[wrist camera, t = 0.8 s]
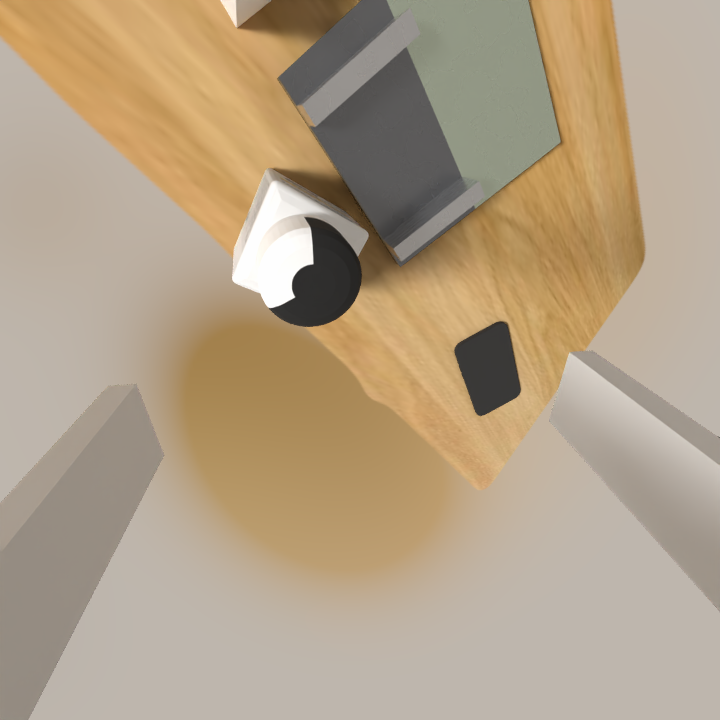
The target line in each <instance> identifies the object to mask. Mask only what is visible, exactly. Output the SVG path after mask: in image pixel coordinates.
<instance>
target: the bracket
mask: <svg viewBox="0 0 720 720" xmlns="http://www.w3.org/2000/svg"><path fill="white" fill-rule="evenodd" d="M270 1H271V0H221V2H222V4H223V5H224V7H225V9H226V11H227V12H228V14H229V16H230V17H231V19H232V21H233V23H234V24H235V26H236V28H238V27H239V26H240V25H242V24H243V23H244V22H245V21H247V20H248V19H249V18H250V17H251V16H253V15H254V14H255V13H256V12H258V11H259V10H260V9H261V8H263V7H264V6H265V5H266V4H268V3H269V2H270Z"/></svg>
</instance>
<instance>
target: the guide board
mask: <svg viewBox="0 0 720 720" xmlns="http://www.w3.org/2000/svg"><path fill="white" fill-rule="evenodd" d="M277 79H278V81H279V83H280V84H281V86H282V87H283V89H284V90H285V92H286V93H287V95H288V96H289V98H290V100H291V101H292V103H293V104H294V106H295V107H296V109H297V110H298V112H299V113H300V115H301V116H302V118H303V120H304V121H305V123H306V124H307V126H308V127H309V129H310V130H311V132H312V133H313V135H314V137H315V138H316V140H317V141H318V143H319V144H320V146H321V147H322V149H323V150H324V152H325V153H326V155H327V157H328V158H329V160H330V161H331V163H332V164H333V166H334V167H335V169H336V170H337V172H338V174H339V175H340V177H341V178H342V180H343V181H344V183H345V184H346V186H347V187H348V189H349V190H350V192H351V194H352V195H353V197H354V198H355V200H356V201H357V203H358V204H359V206H360V207H361V209H362V211H363V212H364V214H365V215H366V217H367V218H368V220H369V221H370V223H371V224H372V226H373V227H374V229H375V231H376V232H377V234H378V235H379V237H380V238H381V240H382V241H383V243H384V244H385V246H386V248H387V249H388V251H389V252H390V254H391V255H392V257H393V258H394V260H395V261H396V263H397V264H398V265H399V266H400V267H401V266H402V265H404V264H405V263H406V262H408V261H409V260H410V259H411V258H413V257H414V256H415V255H417V254H418V253H419V252H420V251H422V250H423V249H424V248H426V247H427V246H428V245H429V244H431V243H432V242H433V241H435V240H436V239H437V238H438V237H440V236H441V235H442V234H444V233H445V232H446V231H447V230H449V229H450V228H451V227H452V226H454V225H455V224H456V223H458V222H459V221H460V220H461V219H463V218H464V217H465V216H467V215H468V214H469V213H470V212H472V211H473V210H474V209H476V208H477V207H478V206H479V205H481V204H482V203H483V202H485V201H486V200H487V199H488V198H490V197H491V196H492V195H494V194H495V193H496V192H497V191H499V190H500V189H501V188H503V187H504V186H505V185H506V184H508V183H509V182H510V181H512V180H513V179H514V178H515V177H517V176H518V175H519V174H521V173H522V172H523V171H524V170H526V169H527V168H528V167H530V166H531V165H532V164H533V163H535V162H536V161H537V160H539V159H540V158H541V157H542V156H544V155H545V154H546V153H548V152H549V151H550V150H551V149H553V148H554V147H555V146H557V145H558V144H559V143H560V142H561V141H560V136H559V132H558V128H557V123H556V119H555V115H554V110H553V106H552V102H551V97H550V93H549V88H548V84H547V80H546V75H545V71H544V67H543V62H542V58H541V54H540V49H539V45H538V41H537V36H536V32H535V28H534V23H533V19H532V15H531V10H530V6H529V2H528V0H361V1H360V2H359V3H358V4H357V5H356V6H355V7H354V8H353V9H352V10H351V11H349V12H348V13H347V14H346V15H345V16H344V17H343V18H342V19H341V20H340V21H339V22H338V23H337V24H335V25H334V26H333V27H332V28H331V29H330V30H329V31H328V32H327V33H326V34H325V35H324V36H322V37H321V38H320V39H319V40H318V41H317V42H316V43H315V44H314V45H313V46H312V47H311V48H310V49H308V50H307V51H306V52H305V53H304V54H303V55H302V56H301V57H300V58H299V59H298V60H297V61H295V62H294V63H293V64H292V65H291V66H290V67H289V68H288V69H287V70H286V71H285V72H284V73H283V74H281V75H280V76H279V77H278V78H277Z"/></svg>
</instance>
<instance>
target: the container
mask: <svg viewBox="0 0 720 720" xmlns="http://www.w3.org/2000/svg"><path fill="white" fill-rule="evenodd" d="M368 236H369V235H368V232H367V231H366V230H365V229H364V228H363V227H361V226H360V225H359V224H358V223H357V222H356V221H355V220H354V219H353V218H352V217H351V216H349V215H348V214H347V213H346V212H345V211H344V210H342V209H340V208H338V207H337V206H335V205H333V204H332V203H330V202H328V201H326V200H325V199H323V198H321V197H320V196H318V195H316V194H314V193H313V192H311V191H309V190H308V189H306V188H304V187H302V186H301V185H299V184H297V183H296V182H294V181H292V180H290V179H289V178H287V177H285V176H284V175H282V174H280V173H278V172H277V171H275V170H273V169H271V168H268V169H266V171H265V173H264V175H263V178H262V180H261V183H260V185H259V188H258V190H257V193H256V195H255V198H254V200H253V203H252V205H251V208H250V210H249V213H248V215H247V218H246V220H245V223H244V225H243V228H242V230H241V232H240V235H239V237H238V240H237V242H236V245H235V247H234V258H233V275H232V279H233V281H234V282H235V283H236V284H238V285H241V286H243V287H246V288H248V289H250V290H253V291H255V292H258V293H261V296H262V298H263V300H264V302H265V303H266V305H267V306H268V308H269V309H270V310H271V311H272V312H273V313H274V314H275V315H276V316H278V317H279V318H280V319H282V320H284V321H286V322H288V323H290V324H294V325H298V326H304V327H313V326H320V325H324V324H327V323H330V322H332V321H334V320H336V319H337V318H339V317H340V316H342V315H343V314H344V313H345V312H346V311H347V310H348V309H349V308H350V307H351V305H352V304H353V303H354V301H355V299H356V297H357V295H358V293H359V290H360V286H361V278H362V274H361V266H360V262H359V259H358V256H359V254H360V252H361V250H362V248H363V247H364V245H365V243H366V241H367V239H368Z"/></svg>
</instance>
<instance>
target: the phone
mask: <svg viewBox="0 0 720 720" xmlns="http://www.w3.org/2000/svg"><path fill="white" fill-rule="evenodd" d="M455 355H456V358H457V361H458V364H459V368H460V371H461V372H462V373H461V374H462V376H463V378H464V381H465V384H466V387H467V389H468V392H469V395H470V398H471V401H472V404H473V406H474V409H475V412H476V413H477V415H479V416H482V415H485V414H487V413H489V412H491V411H493V410H495V409H497V408H498V407H500V406H502V405H504V404H506V403H508V402H509V401H511V400H513V399H515V398H516V397H518V395H519V394H520V385H519V380H518V375H517V370H516V365H515V360H514V355H513V350H512V346H511V341H510V336H509V331H508V327H507V325H506V324H505V323H504V322H501V321H500V322H496V323H494V324H492V325H490V326H489V327H487V328H485V329H483V330H481V331H479V332H478V333H476V334H474V335H472V336H470V337H468V338H467V339H465V340H463V341H461V342H460V343H458V344H457V346H456V347H455Z"/></svg>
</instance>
